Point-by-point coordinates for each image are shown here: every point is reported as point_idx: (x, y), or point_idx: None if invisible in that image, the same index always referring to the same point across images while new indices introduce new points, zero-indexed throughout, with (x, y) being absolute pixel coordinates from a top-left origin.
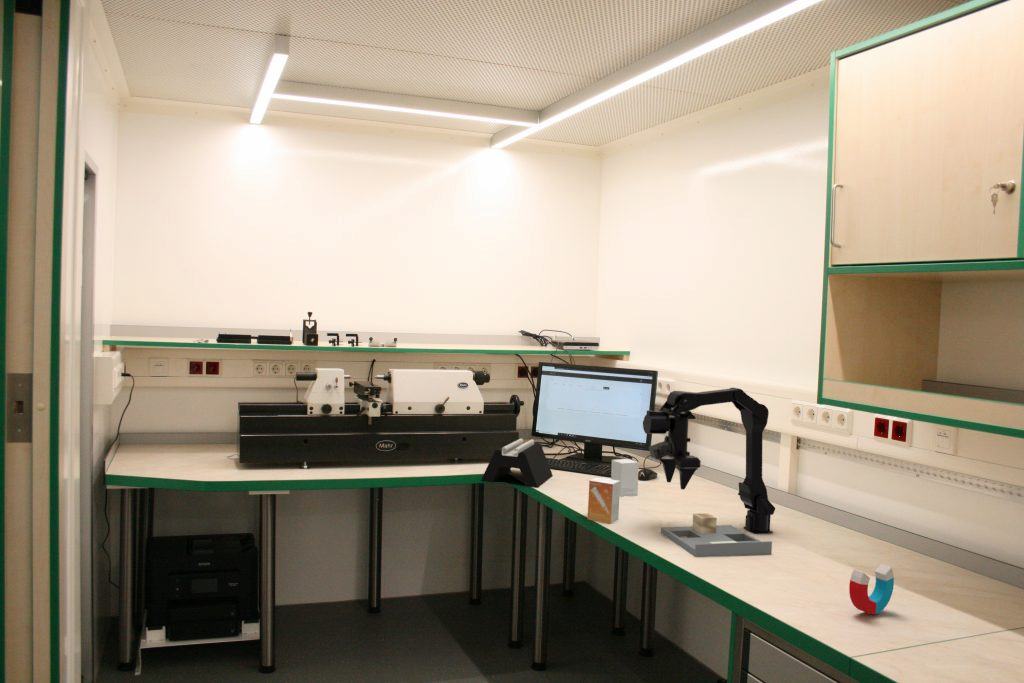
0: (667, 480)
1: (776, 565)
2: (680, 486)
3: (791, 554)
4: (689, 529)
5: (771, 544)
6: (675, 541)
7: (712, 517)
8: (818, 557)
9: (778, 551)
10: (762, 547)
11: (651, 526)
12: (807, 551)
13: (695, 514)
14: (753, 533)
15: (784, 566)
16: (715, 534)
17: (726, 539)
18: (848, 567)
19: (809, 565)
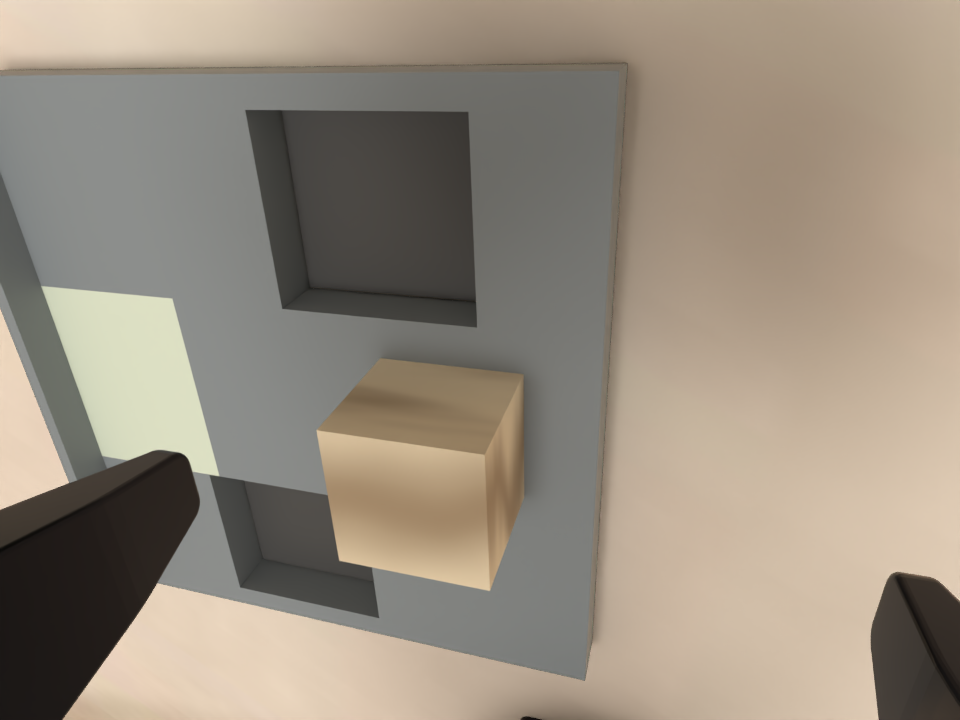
0: (905, 603)
1: (6, 460)
2: (142, 475)
3: (179, 624)
4: (503, 336)
5: None
6: (296, 68)
7: (347, 535)
8: (157, 682)
9: (216, 607)
10: None
11: (953, 90)
12: (232, 706)
13: (453, 459)
14: (529, 717)
15: (2, 483)
16: None
17: (246, 447)
18: None
19: None
